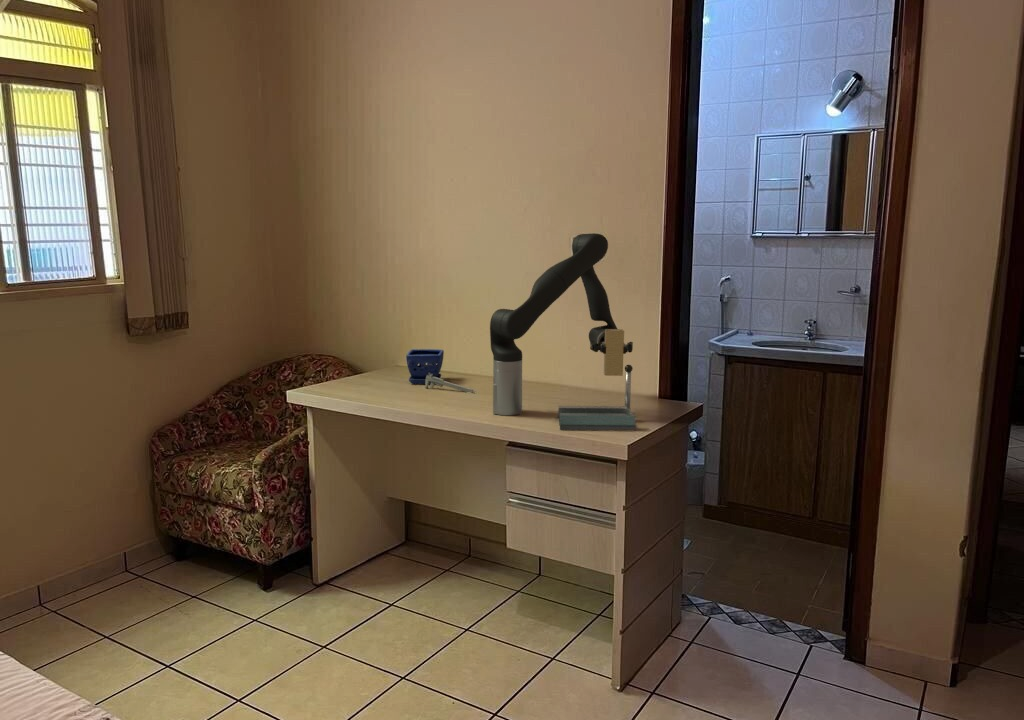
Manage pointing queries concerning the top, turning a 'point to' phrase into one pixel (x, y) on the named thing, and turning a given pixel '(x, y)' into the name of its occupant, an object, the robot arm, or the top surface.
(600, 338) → the robot arm
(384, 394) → the top surface
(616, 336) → the block
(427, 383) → the caliper
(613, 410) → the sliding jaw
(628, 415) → the vise
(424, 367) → the flower pot
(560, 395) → the top surface
